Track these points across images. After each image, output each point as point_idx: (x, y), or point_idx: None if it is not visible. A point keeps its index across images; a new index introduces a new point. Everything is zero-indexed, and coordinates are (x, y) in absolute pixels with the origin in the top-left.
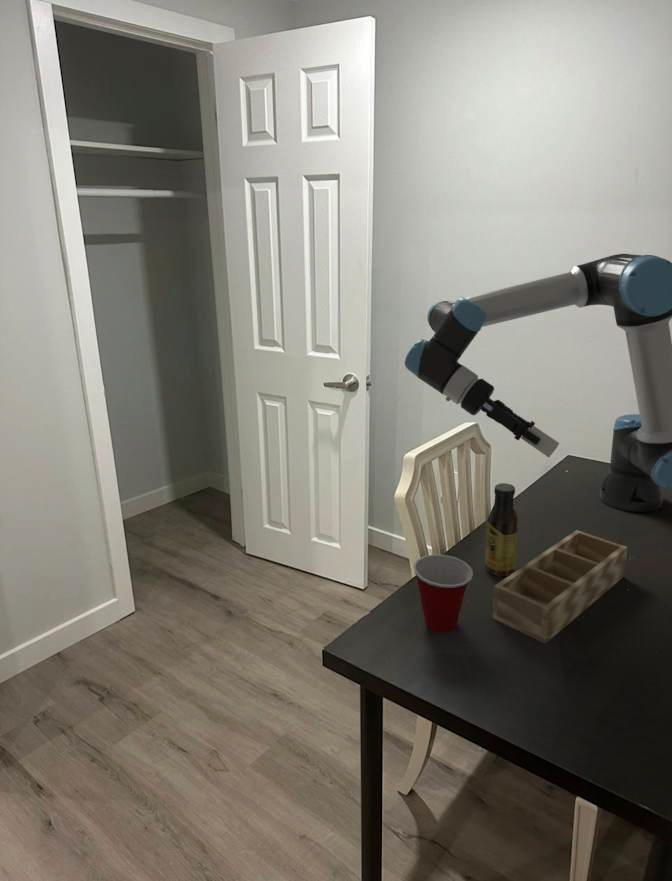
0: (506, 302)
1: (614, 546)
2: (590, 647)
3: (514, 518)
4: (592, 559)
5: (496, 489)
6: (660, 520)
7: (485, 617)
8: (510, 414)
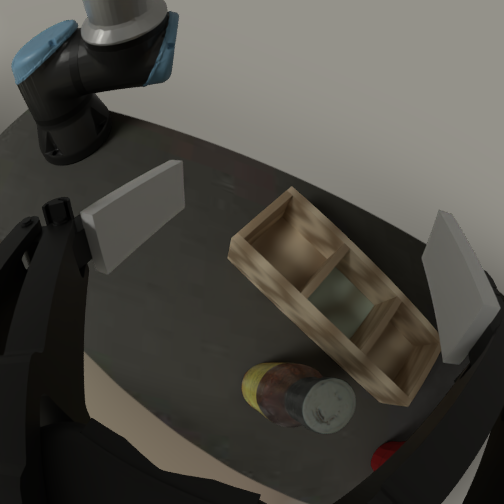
0: None
1: (286, 201)
2: (416, 300)
3: (319, 374)
4: (257, 237)
5: (340, 429)
6: (135, 121)
7: (378, 410)
8: (466, 460)
